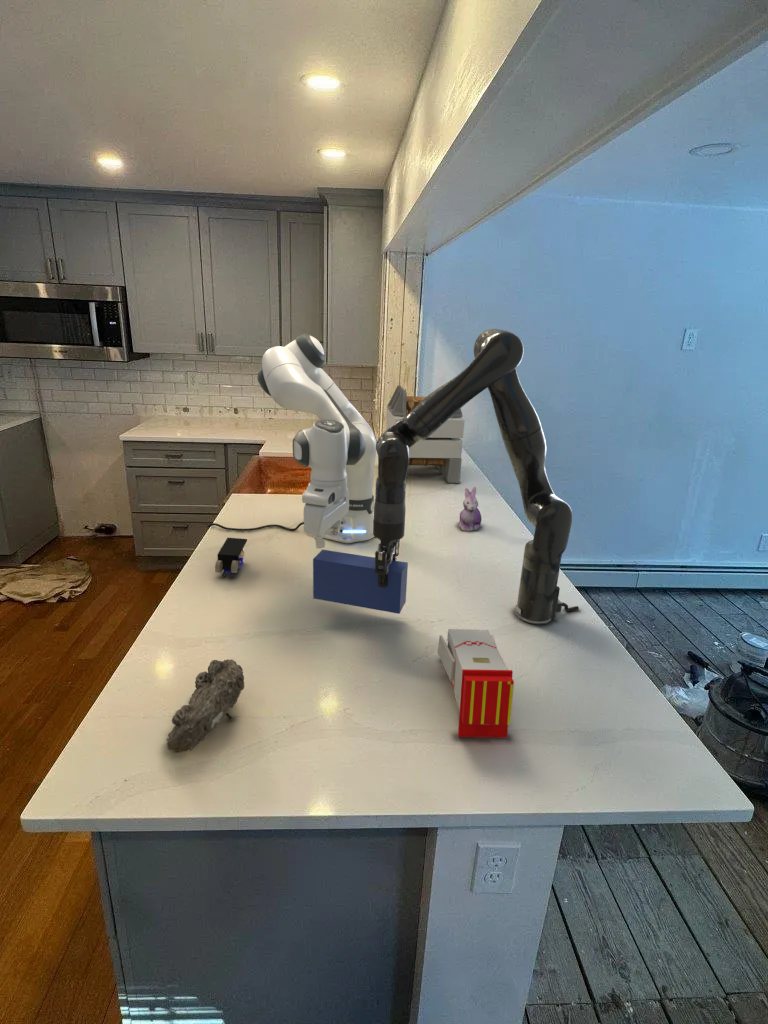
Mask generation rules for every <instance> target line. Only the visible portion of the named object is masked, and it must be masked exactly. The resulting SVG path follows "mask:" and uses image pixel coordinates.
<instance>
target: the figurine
mask: <svg viewBox="0 0 768 1024" xmlns="http://www.w3.org/2000/svg"><path fill="white" fill-rule="evenodd" d="M476 494H477V487H476V486H474V487H473V488H472V489H471V491H470V490H469V488H467V487H464V499H463V501H462V506H463V509H462V510H461V511H460V513H459V521H458V527H459V528H460V529H461V530H463V531H469V532H472V531H476V530H478V529H479V528H481V523H482V514H481V512H480V510H479V508H478V507H479V501H478V498H477V497H476Z"/></svg>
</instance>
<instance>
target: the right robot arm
mask: <svg viewBox="0 0 768 1024" xmlns="http://www.w3.org/2000/svg"><path fill="white" fill-rule="evenodd" d="M524 351H525V350H524V344H523V341H522V340H521V338H520V337H519V336H518V335H517V334H515V333H513V332H511V331H508V330H505V329H500V328H499V329H498V328H490V329H486V330H483V331H482V332H481V333H479V335H478V336H477V338H475V341H474V345H473V357H474V359H473V360H472V361H471V362H470V363H469V365H468V366H466V367H465V368H464V369H463V370H462V371H461V372H460V373H458V374H457V375H456V376H454V377H453V378H452V379H450V380H449V381H447V382H446V383H444V384H442V385H441V386H439V387H438V388H436V389H435V390H433V391H432V392H431V393H429V394H428V395H427V396H425V397H426V398H425V399H424V400H422V401H421V402H420V403H419V404H418V405H417V406H416V407H415V408H414V409H413V410H412V411H411V412H410V413H409V414H408V415H407V416H406V417H404V418H403V419H401V420H400V421H398V422H397V423H395V424H394V425H393V426H391V427H390V428H389V429H387V430H386V429H385V430H384V432H383V433H382V434H381V435H380V436H379V437H378V438H377V440H376V455H377V477H376V480H375V495H374V510H373V535H374V536H375V537H374V538H375V539H377V540H379V543H378V546H377V550H375V552H374V557H375V573H376V574H378V586H379V587H383V588H386V587H387V585H388V572H389V571H388V570H389V565H391V564H392V560H394V561H398V556H399V554H400V543H401V541H400V540H401V539H403V538H404V536H405V529H406V527H405V526H406V511H407V510H406V490H407V488H406V481H407V475H408V469H409V466H408V464H409V448H410V447H412V446H413V445H414V444H415V443H416V442H418V441H419V440H424V439H426V438H428V437H429V436H430V435H432V434H433V433H434V432H435V431H436V430H437V429H438V428H439V427H440V426H441V425H443V424H444V423H445V422H446V421H447V420H448V419H449V418H450V417H451V416H452V415H453V414H455V413H456V412H457V411H458V410H459V409H460V408H461V409H462V408H463V407H464V406H465V405H466V404H468V403H469V402H470V401H472V400H473V399H474V398H476V397H477V396H478V395H480V394H481V393H482V392H483V391H484V390H486V389H487V390H488V392H489V395H490V399H491V402H492V406H493V410H494V413H495V417H496V422H497V424H498V425H497V426H498V428H499V431H500V435H501V438H502V441H503V444H504V447H505V450H506V453H507V455H508V458H509V462H510V463H511V464H510V465H511V466H512V469H513V472H514V474H515V477H516V480H517V483H518V487H519V490H520V497H521V500H522V505H523V511H524V514H525V517H526V518H527V521H528V522H529V523H530V524H531V525H532V526H533V527H534V534H533V539H530V540H528V541H526V543H525V545H524V551H523V559H522V566H521V572H520V573H521V574H520V579H519V586H518V593H517V600H516V604H515V608H514V610H515V612H514V613H515V615H516V617H517V618H518V619H519V620H521V621H523V622H525V623H528V624H533V625H545V624H549V623H550V622H552V621H555V620H556V614H557V613H561V612H562V607H563V608H564V609H563V610H564V611H565V612H574V611H578V610H579V609H580V608H579V606H577V605H576V606H572V607H569V605H568V604H567V603H566V602H563V601H562V602H561V601H560V599H559V595H560V591H561V590H560V589H561V588H560V586H559V585H558V581H559V575H560V569H561V563H562V558H563V557H562V556H563V554H564V552H565V551H566V549H567V546H568V543H569V538H570V533H571V529H572V524H573V510H572V508H571V506H570V505H569V504H568V502H566V501H565V500H563V499H561V498H560V497H558V496H557V495H556V494H555V492H554V491H553V489H552V486H551V484H550V481H549V478H548V475H547V469H546V461H547V441H546V437H545V433H544V430H543V427H542V423H541V420H540V418H539V415H538V413H537V412H536V409H535V407H534V406H533V404H532V402H531V400H530V399H529V397H528V395H527V394H526V392H525V390H524V388H523V387H522V384H521V382H520V378H519V375H518V370H517V368H518V366H519V365H520V364H521V362H522V360H523V357H524ZM387 559H388V561H387ZM381 566H383V568H381Z"/></svg>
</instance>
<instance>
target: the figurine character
mask: <svg viewBox="0 0 768 1024" xmlns="http://www.w3.org/2000/svg"><path fill="white" fill-rule="evenodd" d="M247 542H248V538H240V537H226V539H225V541H224V543H223V544H222V546H221V547H220V549H219V551H218V552H217V560H216V562H215V564H214V572H215V573H221V577H222V578H224V577H225V576H226V574H227V573H230V574H231V573H232V574H231V578H234V577H235V575H236V573H237V572H239V571H240V567H242V566H243V565H244V564H245V562H244V558H245V551H244V547H245V546H246V544H247Z"/></svg>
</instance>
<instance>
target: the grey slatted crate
mask: <svg viewBox="0 0 768 1024" xmlns="http://www.w3.org/2000/svg"><path fill="white" fill-rule="evenodd" d="M407 394H408V393H407V390H406V389H404V388H403V387H402V385H399V384H398V385H397V386H396V388H395V390H394V392H393V394H392V395H391V398H390V400H389V402H388V404H387V405H386V413H385V414H386V415H385V423H386V428H385V431H386V430H387V429H389V428H390V427H391V426H393V425H394V424H395V423H397V422H398V421H400V420H401V419H403V418H404V417H406V416H407V415H408V414H409V413H410V412H411V411H412V410H413V409H414V408H415V407H416V406H417V405H418V404H419V403H420V402H421V401H422V400H424V399H425V398H426V397H427V396H415V395H414V396H413V395H412V396H411V395H407ZM464 429H465V419H464V418H463V411H462V407H461V408H460V409H459V410H458V411H457V412H456V413H455V414H453V415H452V416H451V417H450V418H449V419H448V420H447V421H446V422H445V423H444V424H443V425H441V426H440V427H439V428H438V429H437V430H436V431H435V432H434V433H433V434H432V435H430V436H429V437H428V438H426V439H424V440H419V441H418V442H416V443H415V444H414V445H413V446H412V447H410V448H409V464H408V467H409V466H411V467H412V466H413V467H415V466H416V467H417V466H418V467H436V468H437V470H438V469H439V473H440V474H441V475H443V478H444V479H445V481H446V482H447V483H449V484H455V483H456V484H459V483H461V472H462V461H463V460H462V453H463V442H464V441H463V440H462V439H463V438H464V431H465V430H464Z"/></svg>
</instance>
